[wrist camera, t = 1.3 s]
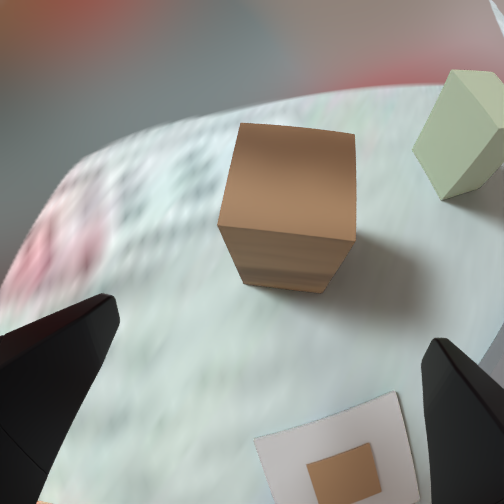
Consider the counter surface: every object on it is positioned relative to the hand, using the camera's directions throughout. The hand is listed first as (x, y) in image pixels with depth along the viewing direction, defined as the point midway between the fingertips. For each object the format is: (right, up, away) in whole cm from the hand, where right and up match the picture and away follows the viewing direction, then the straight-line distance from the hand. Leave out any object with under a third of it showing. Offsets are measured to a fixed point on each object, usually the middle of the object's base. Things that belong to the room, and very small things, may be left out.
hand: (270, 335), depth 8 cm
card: (+6, -13, +9) cm, 17 cm away
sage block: (+17, +10, +16) cm, 26 cm away
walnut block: (+2, +2, +15) cm, 15 cm away
